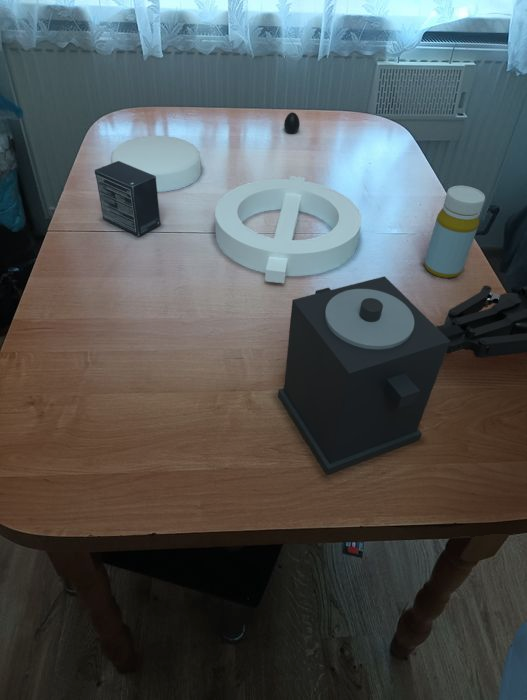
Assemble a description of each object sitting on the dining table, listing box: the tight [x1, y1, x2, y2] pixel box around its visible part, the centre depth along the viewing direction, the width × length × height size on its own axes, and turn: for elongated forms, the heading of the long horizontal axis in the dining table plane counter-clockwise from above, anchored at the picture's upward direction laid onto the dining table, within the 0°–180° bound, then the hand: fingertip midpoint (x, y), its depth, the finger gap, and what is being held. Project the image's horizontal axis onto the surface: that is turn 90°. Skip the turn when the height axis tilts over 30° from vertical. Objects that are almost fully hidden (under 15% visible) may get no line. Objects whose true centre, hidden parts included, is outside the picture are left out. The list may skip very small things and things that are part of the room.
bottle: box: [423, 185, 486, 279], centre depth 95 cm, size 7×7×15 cm
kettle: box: [277, 276, 450, 476], centre depth 67 cm, size 20×15×20 cm
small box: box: [94, 161, 162, 237], centre depth 104 cm, size 11×6×10 cm, turn 53°
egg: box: [283, 111, 301, 135], centre depth 143 cm, size 4×4×5 cm
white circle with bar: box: [214, 175, 362, 284], centre depth 105 cm, size 28×28×5 cm
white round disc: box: [110, 135, 202, 193], centre depth 123 cm, size 20×20×5 cm
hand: (417, 347), depth 69 cm, fingers closed
